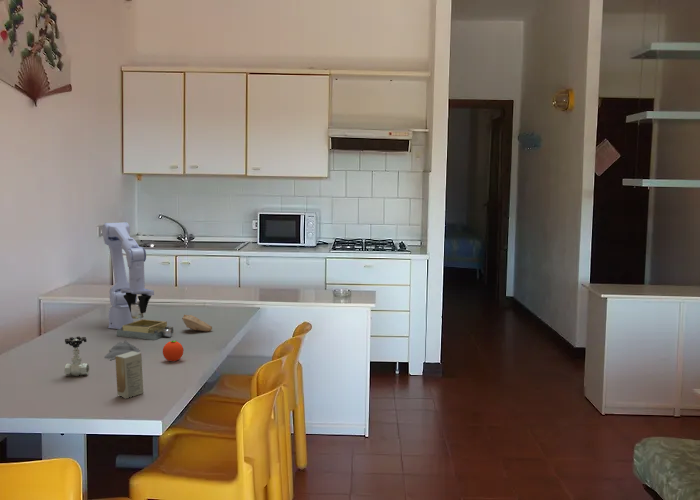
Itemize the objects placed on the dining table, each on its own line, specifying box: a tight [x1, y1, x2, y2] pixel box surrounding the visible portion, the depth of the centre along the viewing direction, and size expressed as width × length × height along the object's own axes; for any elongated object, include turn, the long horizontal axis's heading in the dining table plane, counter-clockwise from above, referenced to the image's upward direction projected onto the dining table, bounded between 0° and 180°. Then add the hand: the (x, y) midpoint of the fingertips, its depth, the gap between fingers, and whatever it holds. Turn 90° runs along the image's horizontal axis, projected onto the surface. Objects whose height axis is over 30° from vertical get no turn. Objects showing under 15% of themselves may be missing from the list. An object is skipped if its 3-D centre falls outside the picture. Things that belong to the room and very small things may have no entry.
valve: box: [64, 335, 90, 377], centre depth 217 cm, size 7×7×12 cm
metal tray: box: [116, 318, 174, 341], centre depth 271 cm, size 21×12×4 cm, turn 69°
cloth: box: [104, 340, 141, 361], centre depth 247 cm, size 26×14×2 cm, turn 175°
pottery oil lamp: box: [182, 314, 213, 332], centre depth 277 cm, size 9×12×7 cm
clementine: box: [162, 340, 184, 362], centre depth 234 cm, size 8×7×7 cm
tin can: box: [131, 301, 144, 320], centre depth 268 cm, size 5×5×6 cm
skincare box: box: [115, 351, 144, 399], centre depth 198 cm, size 6×4×12 cm
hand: (137, 312), depth 269 cm, fingers closed on tin can, 5 cm apart
